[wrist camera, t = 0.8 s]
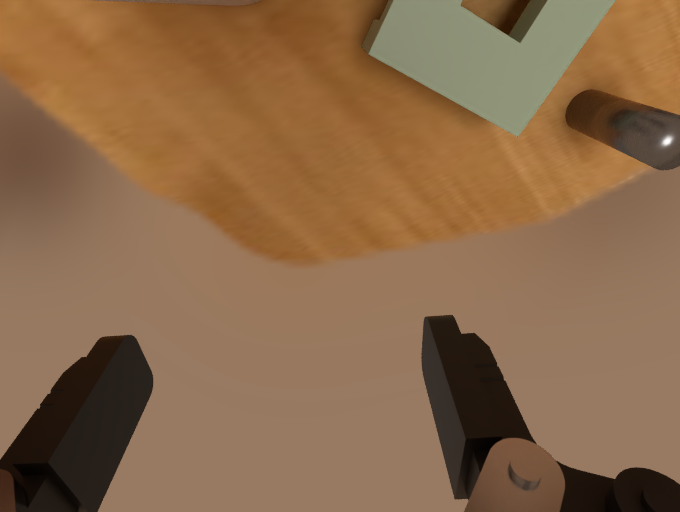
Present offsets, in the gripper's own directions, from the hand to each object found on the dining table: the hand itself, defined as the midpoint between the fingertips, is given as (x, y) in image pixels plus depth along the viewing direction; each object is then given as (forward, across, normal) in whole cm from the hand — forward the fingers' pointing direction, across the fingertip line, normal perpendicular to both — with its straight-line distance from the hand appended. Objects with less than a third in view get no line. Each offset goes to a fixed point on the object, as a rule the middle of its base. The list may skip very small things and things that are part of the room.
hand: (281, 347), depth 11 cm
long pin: (+26, -23, +1) cm, 34 cm away
